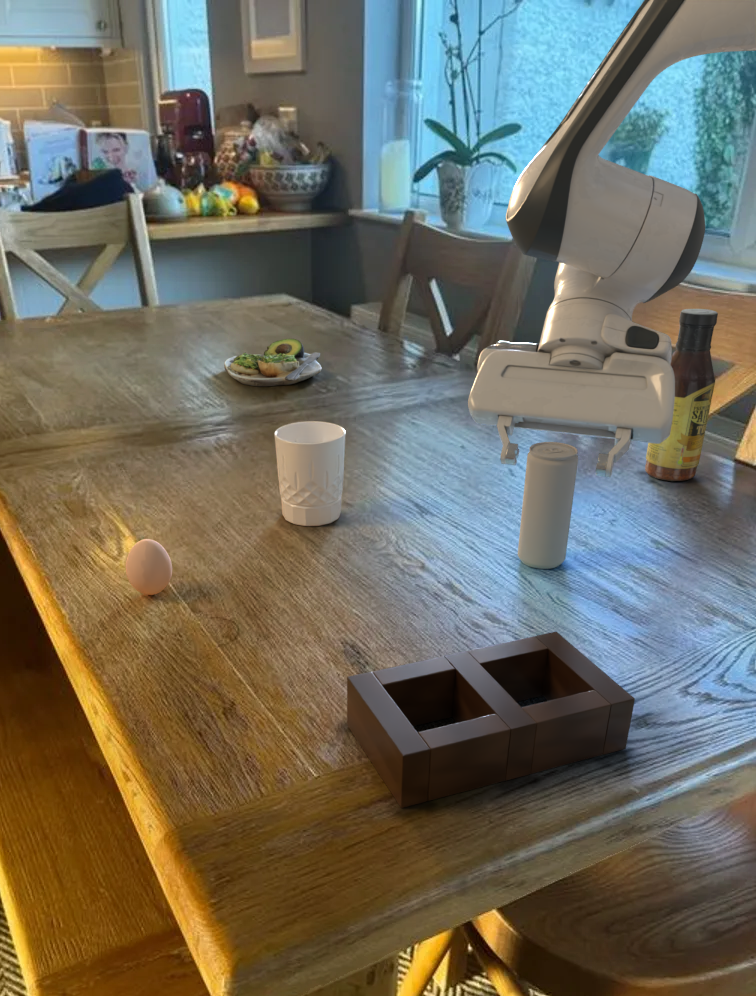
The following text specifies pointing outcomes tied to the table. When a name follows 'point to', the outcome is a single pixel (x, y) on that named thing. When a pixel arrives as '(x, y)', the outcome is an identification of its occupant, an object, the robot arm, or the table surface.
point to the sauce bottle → (687, 399)
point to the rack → (485, 716)
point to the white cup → (310, 471)
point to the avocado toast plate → (274, 365)
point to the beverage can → (547, 504)
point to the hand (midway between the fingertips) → (554, 468)
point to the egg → (148, 567)
